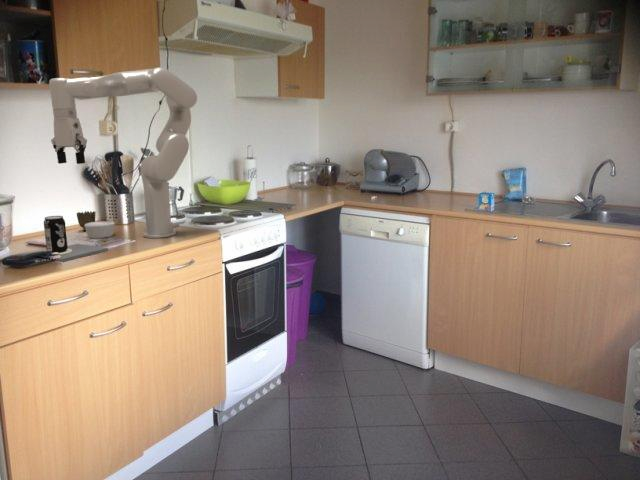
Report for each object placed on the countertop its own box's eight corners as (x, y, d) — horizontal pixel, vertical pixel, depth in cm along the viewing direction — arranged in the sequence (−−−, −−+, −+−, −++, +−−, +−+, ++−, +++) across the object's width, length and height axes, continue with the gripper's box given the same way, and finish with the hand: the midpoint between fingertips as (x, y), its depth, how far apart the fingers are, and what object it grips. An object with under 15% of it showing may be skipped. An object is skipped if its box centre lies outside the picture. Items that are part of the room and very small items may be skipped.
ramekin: (119, 233, 231) (118, 221, 230) (109, 239, 221) (108, 226, 219) (92, 233, 232) (91, 221, 231) (80, 239, 221) (79, 226, 220)
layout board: (77, 246, 208) (77, 243, 208) (107, 250, 200) (107, 247, 200) (32, 256, 192) (32, 253, 192) (63, 261, 185) (62, 258, 184)
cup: (79, 229, 240) (77, 211, 238) (98, 228, 242) (96, 210, 240) (76, 233, 233) (75, 214, 231) (95, 232, 234) (94, 213, 233)
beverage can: (71, 249, 198) (67, 215, 195) (63, 253, 191) (59, 218, 189) (51, 249, 198) (48, 215, 195) (43, 253, 191) (39, 218, 189)
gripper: (91, 113, 198) (97, 162, 202) (57, 114, 206) (64, 162, 210) (73, 114, 192) (79, 164, 195) (39, 115, 200) (46, 164, 203)
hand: (71, 163), depth 203 cm, fingers open, 9 cm apart
